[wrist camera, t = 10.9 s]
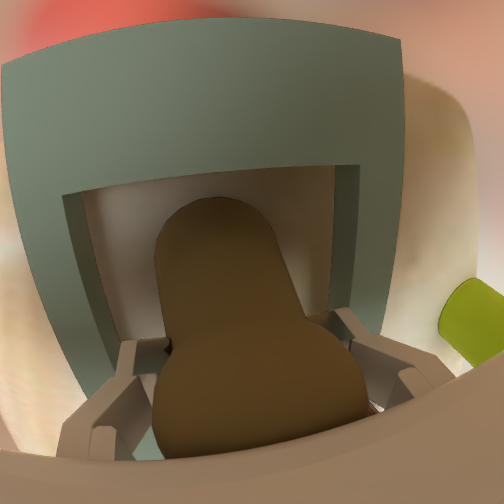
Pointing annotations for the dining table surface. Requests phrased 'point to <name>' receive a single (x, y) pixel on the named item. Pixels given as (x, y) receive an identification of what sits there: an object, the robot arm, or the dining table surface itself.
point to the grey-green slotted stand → (200, 148)
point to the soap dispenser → (474, 321)
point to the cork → (241, 341)
